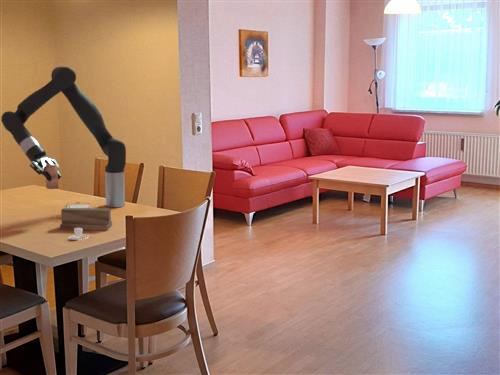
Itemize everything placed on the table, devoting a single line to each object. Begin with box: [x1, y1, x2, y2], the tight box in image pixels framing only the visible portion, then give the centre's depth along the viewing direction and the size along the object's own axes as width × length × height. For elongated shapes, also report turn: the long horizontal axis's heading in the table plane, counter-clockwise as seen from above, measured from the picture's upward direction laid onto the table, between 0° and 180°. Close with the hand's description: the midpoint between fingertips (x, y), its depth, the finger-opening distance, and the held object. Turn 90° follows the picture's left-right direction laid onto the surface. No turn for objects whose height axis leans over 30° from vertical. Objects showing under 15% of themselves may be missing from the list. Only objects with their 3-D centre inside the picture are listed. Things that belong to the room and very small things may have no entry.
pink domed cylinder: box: [45, 164, 59, 190], centre depth 268 cm, size 5×5×10 cm
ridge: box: [59, 207, 113, 231], centre depth 264 cm, size 9×20×8 cm, turn 91°
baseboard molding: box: [65, 201, 90, 208], centre depth 289 cm, size 31×3×12 cm
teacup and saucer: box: [67, 228, 90, 241], centre depth 249 cm, size 9×8×4 cm
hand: (55, 178), depth 267 cm, fingers closed on pink domed cylinder, 5 cm apart
